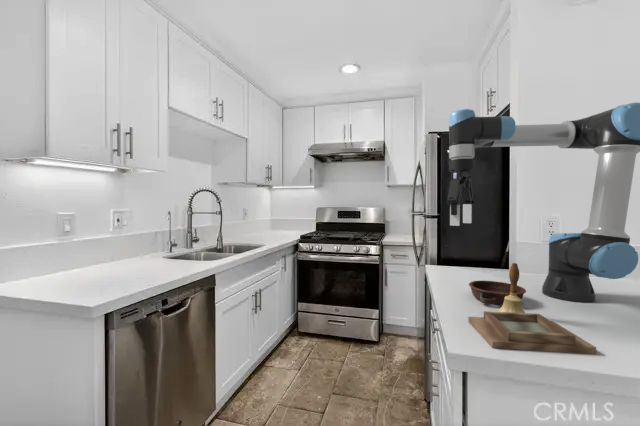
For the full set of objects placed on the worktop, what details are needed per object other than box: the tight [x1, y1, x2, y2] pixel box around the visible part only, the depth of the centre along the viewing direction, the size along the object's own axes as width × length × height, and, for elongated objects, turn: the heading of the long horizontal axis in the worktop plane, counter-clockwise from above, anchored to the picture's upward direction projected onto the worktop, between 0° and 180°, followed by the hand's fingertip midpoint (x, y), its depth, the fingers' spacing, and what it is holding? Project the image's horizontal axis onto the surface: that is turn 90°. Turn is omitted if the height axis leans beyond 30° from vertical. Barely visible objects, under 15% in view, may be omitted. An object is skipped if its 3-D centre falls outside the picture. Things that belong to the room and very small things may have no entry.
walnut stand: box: [467, 310, 597, 355], centre depth 79 cm, size 22×16×4 cm
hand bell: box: [496, 262, 526, 313], centre depth 93 cm, size 8×8×16 cm
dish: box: [468, 280, 527, 306], centre depth 109 cm, size 18×22×5 cm
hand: (461, 224), depth 101 cm, fingers open, 13 cm apart
